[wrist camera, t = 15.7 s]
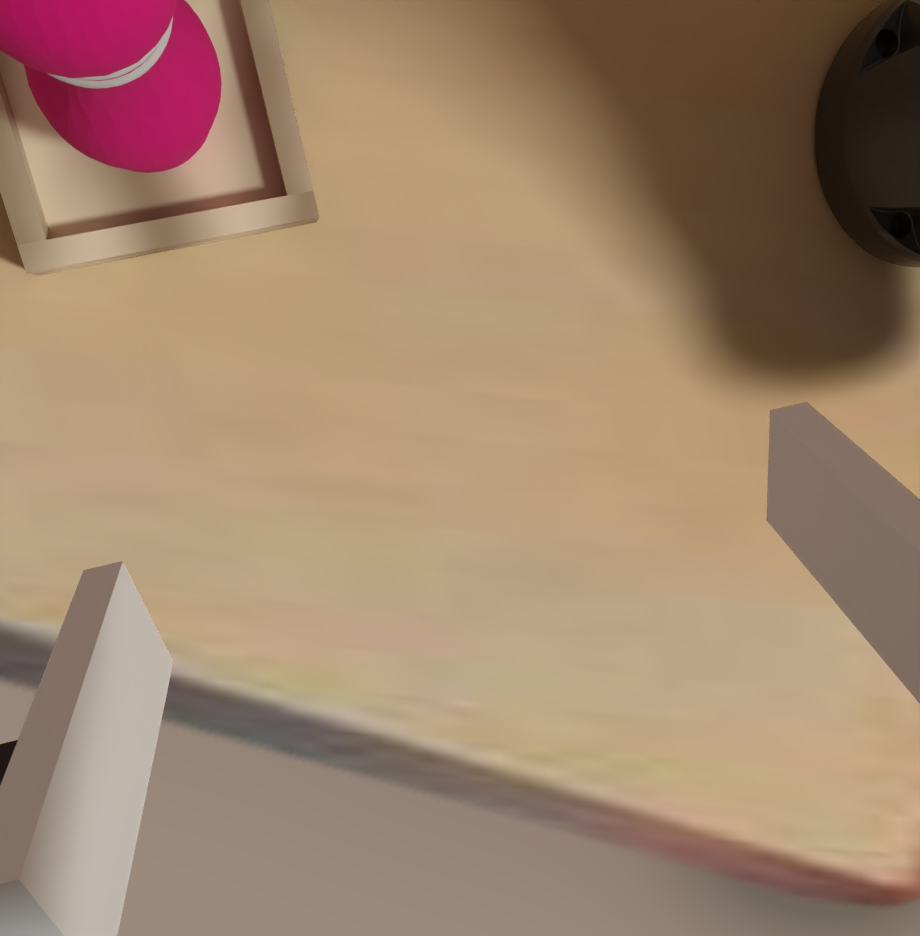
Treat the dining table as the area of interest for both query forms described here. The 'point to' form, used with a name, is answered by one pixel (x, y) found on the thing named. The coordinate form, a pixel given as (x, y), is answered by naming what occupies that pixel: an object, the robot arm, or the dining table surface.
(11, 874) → the robot arm
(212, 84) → the pepper mill
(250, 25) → the tray
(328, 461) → the dining table surface
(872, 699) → the dining table surface
